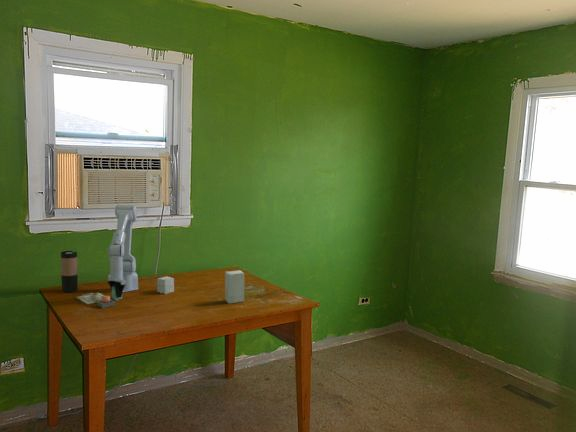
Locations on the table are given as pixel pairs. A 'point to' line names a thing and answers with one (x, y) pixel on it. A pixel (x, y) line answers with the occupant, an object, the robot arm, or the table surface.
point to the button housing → (103, 305)
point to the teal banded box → (115, 294)
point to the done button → (105, 299)
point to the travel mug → (69, 271)
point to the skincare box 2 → (234, 286)
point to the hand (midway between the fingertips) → (116, 296)
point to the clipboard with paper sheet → (90, 298)
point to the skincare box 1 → (165, 285)
